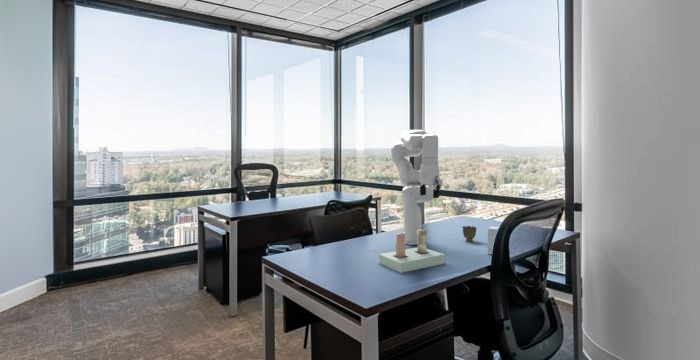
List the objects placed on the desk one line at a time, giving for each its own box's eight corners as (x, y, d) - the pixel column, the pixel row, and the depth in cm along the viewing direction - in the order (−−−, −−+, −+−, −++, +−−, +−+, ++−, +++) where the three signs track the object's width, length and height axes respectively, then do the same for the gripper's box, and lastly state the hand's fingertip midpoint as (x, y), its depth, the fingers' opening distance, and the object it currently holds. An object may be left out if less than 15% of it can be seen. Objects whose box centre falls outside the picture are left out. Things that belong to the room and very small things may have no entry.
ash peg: (415, 260, 170) (415, 230, 169) (422, 259, 172) (422, 229, 171) (421, 262, 167) (421, 231, 165) (428, 261, 169) (428, 230, 167)
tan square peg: (394, 264, 164) (393, 233, 163) (401, 263, 166) (401, 232, 165) (399, 267, 161) (399, 235, 160) (407, 265, 163) (406, 233, 162)
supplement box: (503, 256, 178) (503, 230, 177) (487, 254, 182) (487, 228, 181) (506, 252, 185) (506, 227, 184) (490, 250, 188) (490, 225, 187)
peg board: (378, 265, 168) (378, 254, 167) (420, 257, 179) (420, 246, 179) (400, 275, 154) (400, 263, 153) (444, 265, 165) (444, 254, 165)
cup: (477, 242, 205) (477, 228, 204) (463, 242, 206) (463, 228, 205) (475, 239, 212) (475, 225, 211) (461, 239, 213) (461, 225, 213)
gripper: (412, 160, 184) (412, 194, 186) (435, 162, 169) (435, 199, 171) (424, 159, 188) (424, 193, 190) (448, 161, 173) (447, 198, 175)
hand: (429, 196), depth 181 cm, fingers open, 9 cm apart
